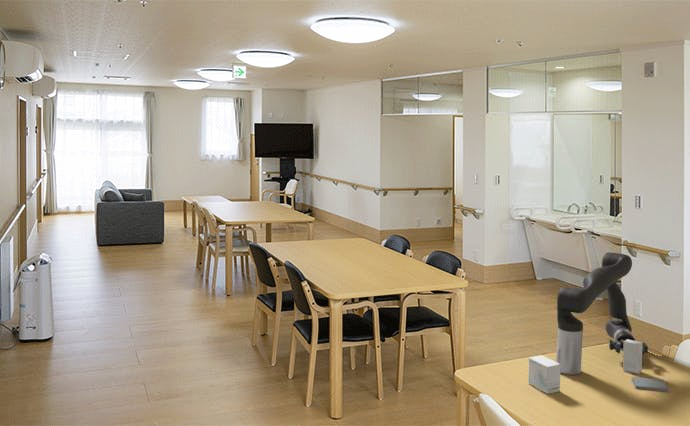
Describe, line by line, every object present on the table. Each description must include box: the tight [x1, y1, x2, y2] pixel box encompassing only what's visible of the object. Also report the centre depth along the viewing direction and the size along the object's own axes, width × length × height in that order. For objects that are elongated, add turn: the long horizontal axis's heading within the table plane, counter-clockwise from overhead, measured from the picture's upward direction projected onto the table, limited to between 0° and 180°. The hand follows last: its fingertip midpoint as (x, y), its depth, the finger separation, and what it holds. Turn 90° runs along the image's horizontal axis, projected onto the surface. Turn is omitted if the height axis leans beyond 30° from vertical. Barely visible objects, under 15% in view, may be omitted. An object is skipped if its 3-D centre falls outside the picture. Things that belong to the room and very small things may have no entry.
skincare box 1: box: [528, 354, 561, 395], centre depth 236 cm, size 10×6×10 cm, turn 23°
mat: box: [631, 376, 669, 392], centre depth 239 cm, size 11×9×1 cm
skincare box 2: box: [622, 339, 643, 375], centre depth 252 cm, size 6×4×12 cm
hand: (630, 352), depth 256 cm, fingers open, 8 cm apart
